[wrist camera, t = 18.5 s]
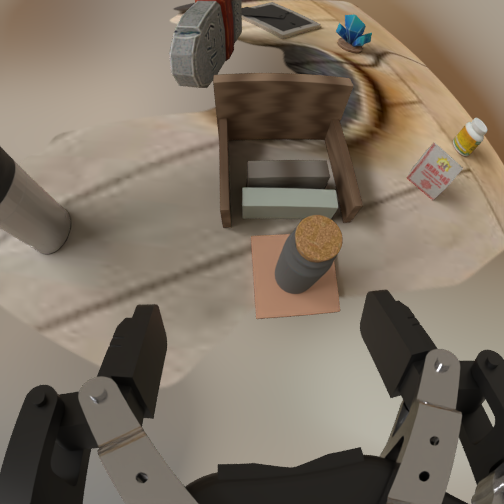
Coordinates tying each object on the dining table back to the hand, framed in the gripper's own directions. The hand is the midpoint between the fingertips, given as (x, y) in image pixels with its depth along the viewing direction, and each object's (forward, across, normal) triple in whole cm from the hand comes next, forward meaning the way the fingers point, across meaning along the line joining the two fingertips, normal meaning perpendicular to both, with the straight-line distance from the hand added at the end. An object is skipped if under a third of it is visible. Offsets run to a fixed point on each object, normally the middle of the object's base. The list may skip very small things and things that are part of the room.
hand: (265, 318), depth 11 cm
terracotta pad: (+28, -7, +16) cm, 33 cm away
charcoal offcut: (+38, -7, +5) cm, 39 cm away
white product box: (+39, -35, +4) cm, 53 cm away
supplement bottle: (+47, -52, -3) cm, 70 cm away
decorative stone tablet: (+63, +5, -20) cm, 66 cm away
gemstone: (+72, -32, -28) cm, 83 cm away
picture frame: (+82, -13, -37) cm, 91 cm away
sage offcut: (+35, -7, +8) cm, 37 cm away
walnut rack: (+40, -7, +3) cm, 41 cm away
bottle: (+27, -7, +15) cm, 32 cm away
